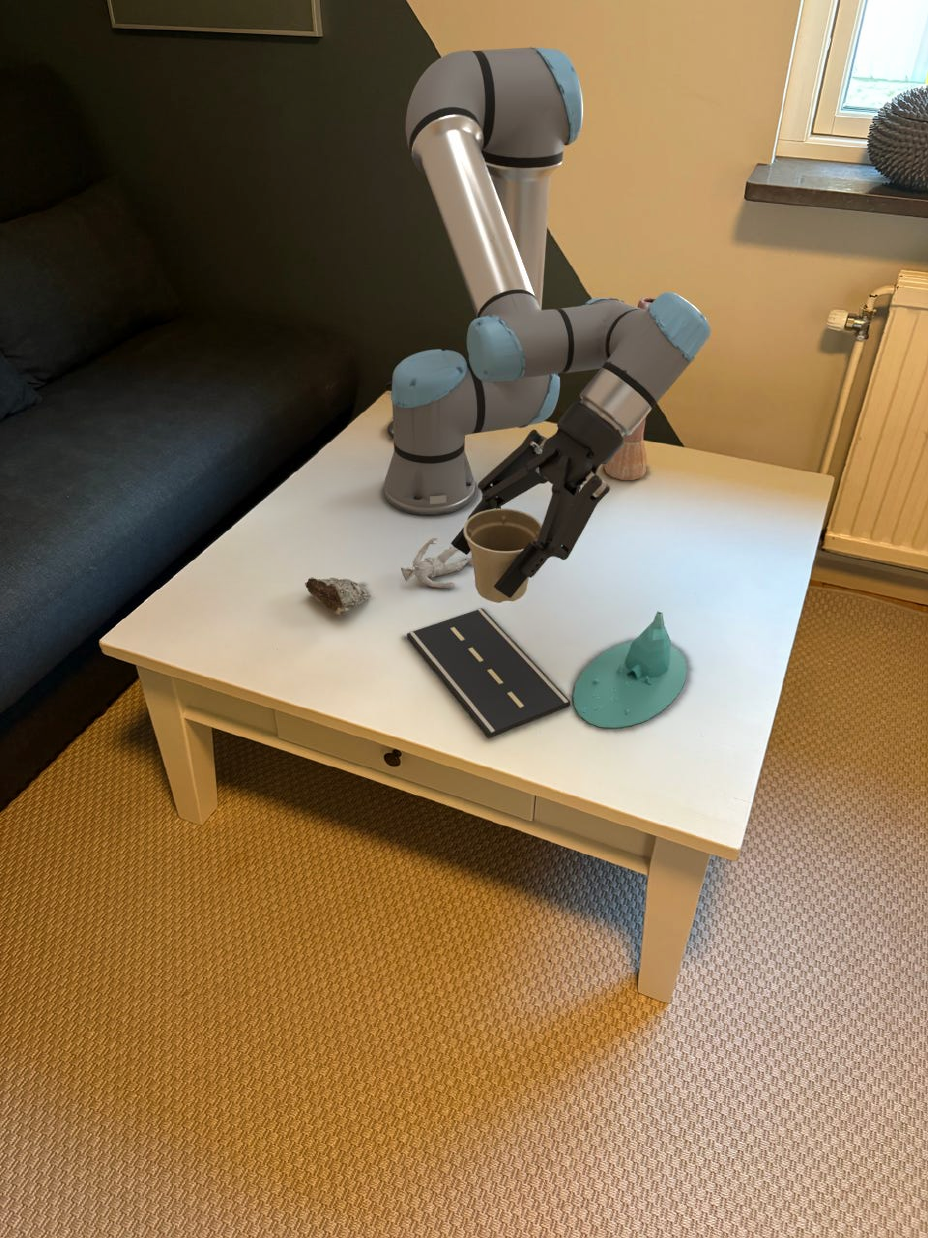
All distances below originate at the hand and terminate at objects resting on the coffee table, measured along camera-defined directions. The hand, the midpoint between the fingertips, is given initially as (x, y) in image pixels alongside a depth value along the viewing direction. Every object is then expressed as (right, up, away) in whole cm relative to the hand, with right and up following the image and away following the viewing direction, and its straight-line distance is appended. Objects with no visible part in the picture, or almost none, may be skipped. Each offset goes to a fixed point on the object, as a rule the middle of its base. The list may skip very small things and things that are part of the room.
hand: (479, 570), depth 112 cm
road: (+1, -13, +13) cm, 18 cm away
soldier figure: (-6, +1, +30) cm, 30 cm away
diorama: (+20, -14, +12) cm, 27 cm away
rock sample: (-20, -3, +24) cm, 32 cm away
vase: (+27, +21, +57) cm, 66 cm away
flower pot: (+3, -2, +4) cm, 5 cm away
